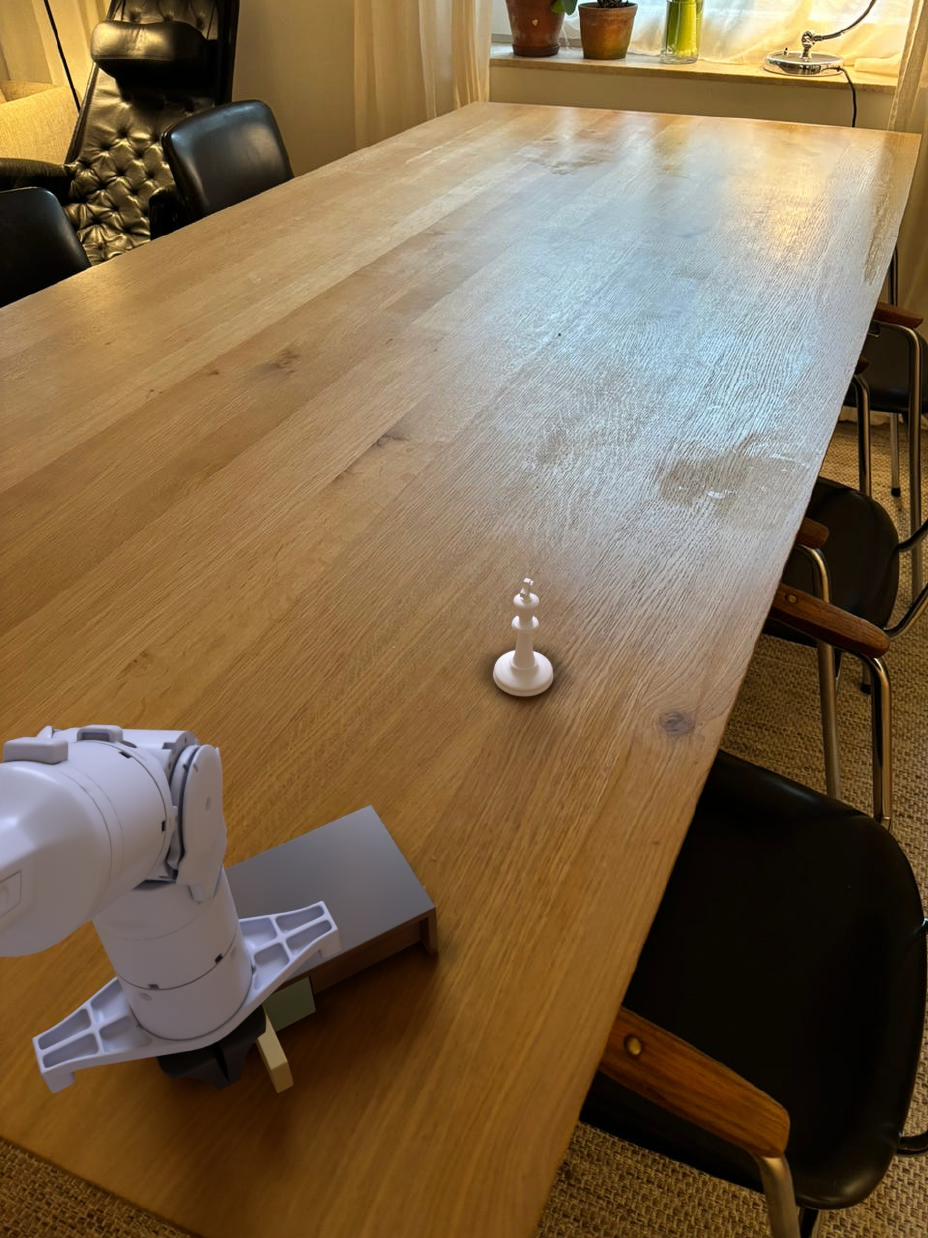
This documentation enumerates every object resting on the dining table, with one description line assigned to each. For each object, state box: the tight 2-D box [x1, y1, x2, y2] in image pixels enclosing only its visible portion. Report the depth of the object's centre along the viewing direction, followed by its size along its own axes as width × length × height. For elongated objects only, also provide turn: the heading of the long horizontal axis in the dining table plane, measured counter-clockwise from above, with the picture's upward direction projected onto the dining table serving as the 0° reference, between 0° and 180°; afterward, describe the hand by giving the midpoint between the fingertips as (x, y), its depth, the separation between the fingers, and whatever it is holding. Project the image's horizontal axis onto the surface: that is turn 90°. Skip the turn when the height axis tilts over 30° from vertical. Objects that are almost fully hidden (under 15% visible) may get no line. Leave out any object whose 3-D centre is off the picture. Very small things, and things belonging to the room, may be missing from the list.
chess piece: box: [492, 577, 554, 697], centre depth 78 cm, size 5×5×10 cm
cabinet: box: [192, 804, 439, 1079], centre depth 61 cm, size 16×9×5 cm, turn 120°
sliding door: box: [253, 977, 316, 1094], centre depth 56 cm, size 7×5×4 cm
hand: (223, 1069), depth 53 cm, fingers closed
